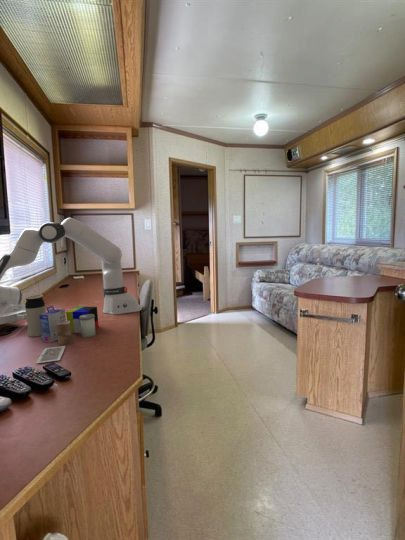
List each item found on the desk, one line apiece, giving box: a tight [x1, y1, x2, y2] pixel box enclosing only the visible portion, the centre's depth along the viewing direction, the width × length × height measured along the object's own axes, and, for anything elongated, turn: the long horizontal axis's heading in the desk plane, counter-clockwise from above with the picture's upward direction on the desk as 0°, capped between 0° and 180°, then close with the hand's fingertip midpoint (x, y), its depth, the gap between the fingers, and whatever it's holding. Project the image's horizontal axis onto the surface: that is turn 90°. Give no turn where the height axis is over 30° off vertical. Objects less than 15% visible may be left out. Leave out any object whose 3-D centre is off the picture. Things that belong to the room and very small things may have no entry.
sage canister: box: [79, 314, 96, 338], centre depth 140 cm, size 6×6×9 cm
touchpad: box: [35, 345, 66, 364], centre depth 118 cm, size 8×15×2 cm, turn 16°
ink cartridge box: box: [39, 305, 67, 343], centre depth 137 cm, size 10×6×14 cm, turn 161°
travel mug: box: [24, 294, 47, 337], centre depth 144 cm, size 8×8×18 cm
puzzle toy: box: [65, 306, 99, 334], centre depth 149 cm, size 10×10×10 cm
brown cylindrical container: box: [57, 320, 73, 347], centre depth 131 cm, size 5×5×9 cm
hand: (26, 316), depth 150 cm, fingers closed
